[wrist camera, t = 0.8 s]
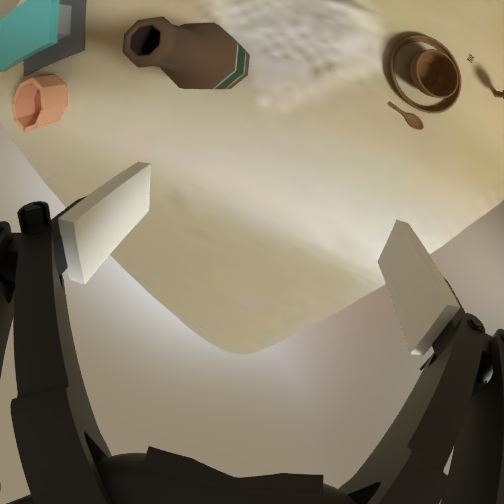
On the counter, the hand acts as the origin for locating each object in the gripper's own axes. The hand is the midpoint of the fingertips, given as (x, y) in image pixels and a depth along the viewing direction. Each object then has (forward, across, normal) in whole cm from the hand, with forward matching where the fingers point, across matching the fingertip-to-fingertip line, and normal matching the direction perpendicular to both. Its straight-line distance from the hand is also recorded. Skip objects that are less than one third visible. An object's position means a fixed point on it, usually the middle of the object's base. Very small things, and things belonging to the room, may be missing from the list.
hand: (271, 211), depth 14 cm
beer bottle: (+28, -10, +8) cm, 31 cm away
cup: (+28, -41, +2) cm, 49 cm away
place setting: (+28, +22, +14) cm, 39 cm away
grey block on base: (+28, -43, +16) cm, 53 cm away
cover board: (+22, -43, +16) cm, 50 cm away
